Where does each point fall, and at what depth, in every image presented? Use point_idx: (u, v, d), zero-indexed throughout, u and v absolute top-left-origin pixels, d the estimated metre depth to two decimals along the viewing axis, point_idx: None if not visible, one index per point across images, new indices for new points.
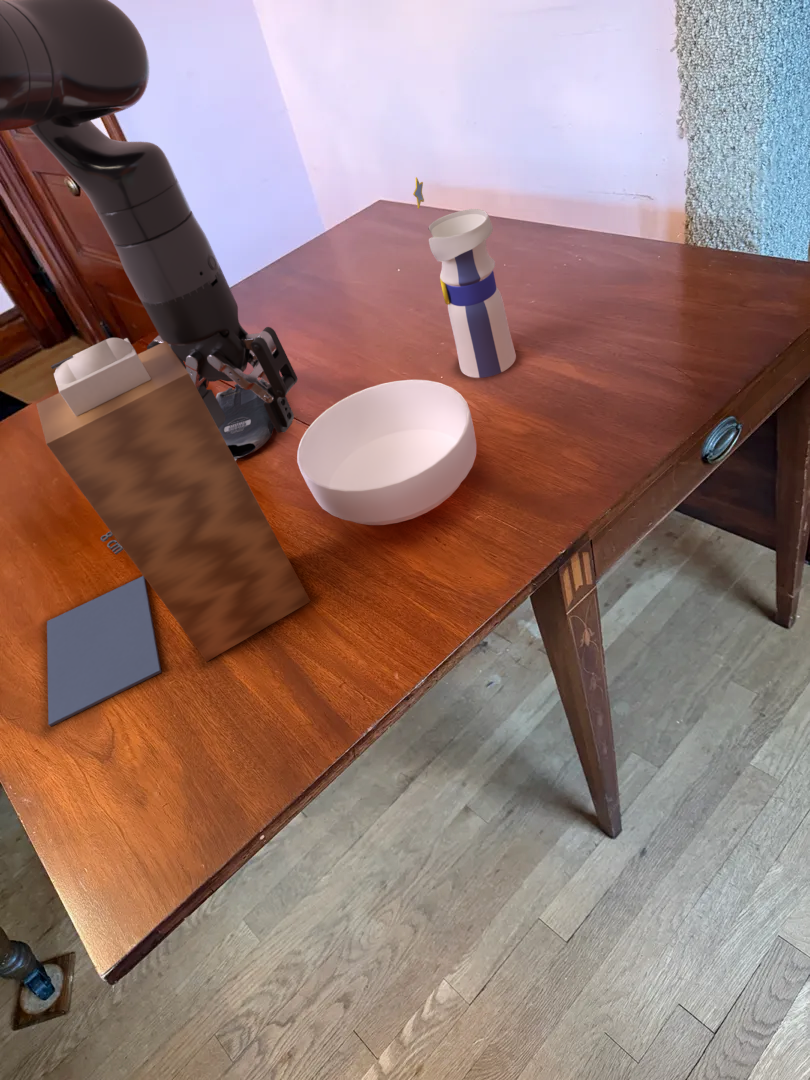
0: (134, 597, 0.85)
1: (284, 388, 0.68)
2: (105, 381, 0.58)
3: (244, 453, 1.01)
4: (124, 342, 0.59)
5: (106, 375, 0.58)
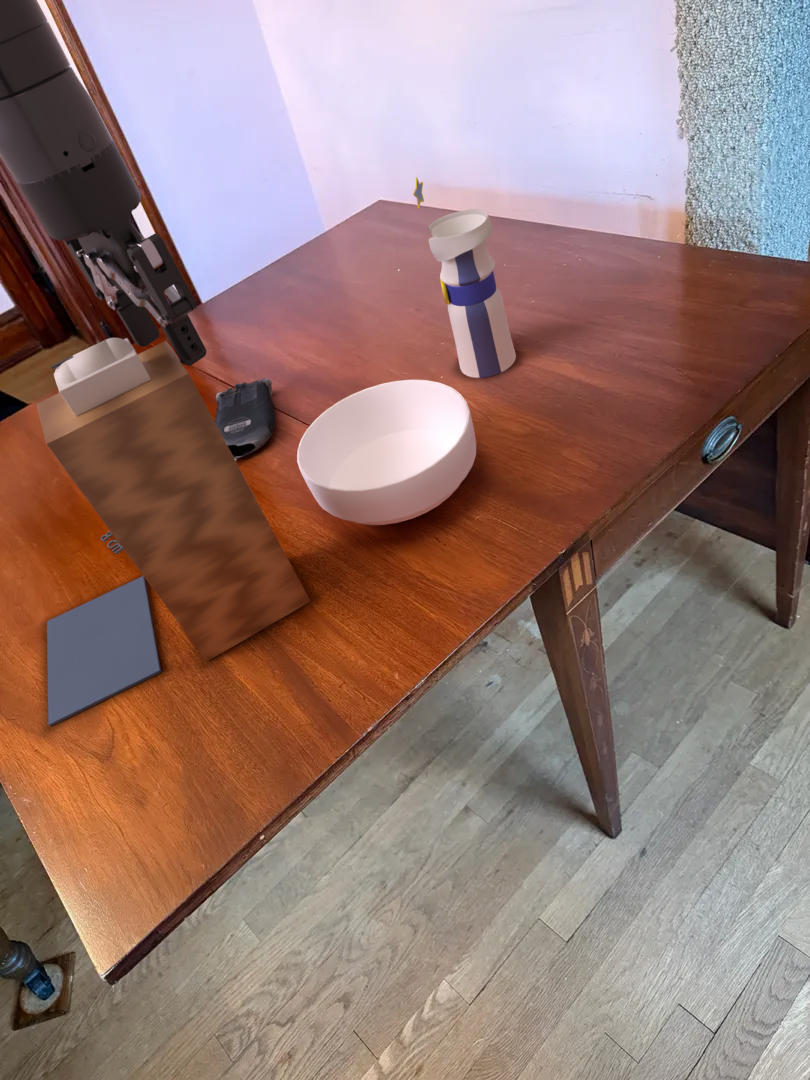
0: (134, 597, 0.85)
1: (170, 313, 0.56)
2: (105, 381, 0.58)
3: (244, 453, 1.01)
4: (124, 342, 0.59)
5: (106, 375, 0.58)
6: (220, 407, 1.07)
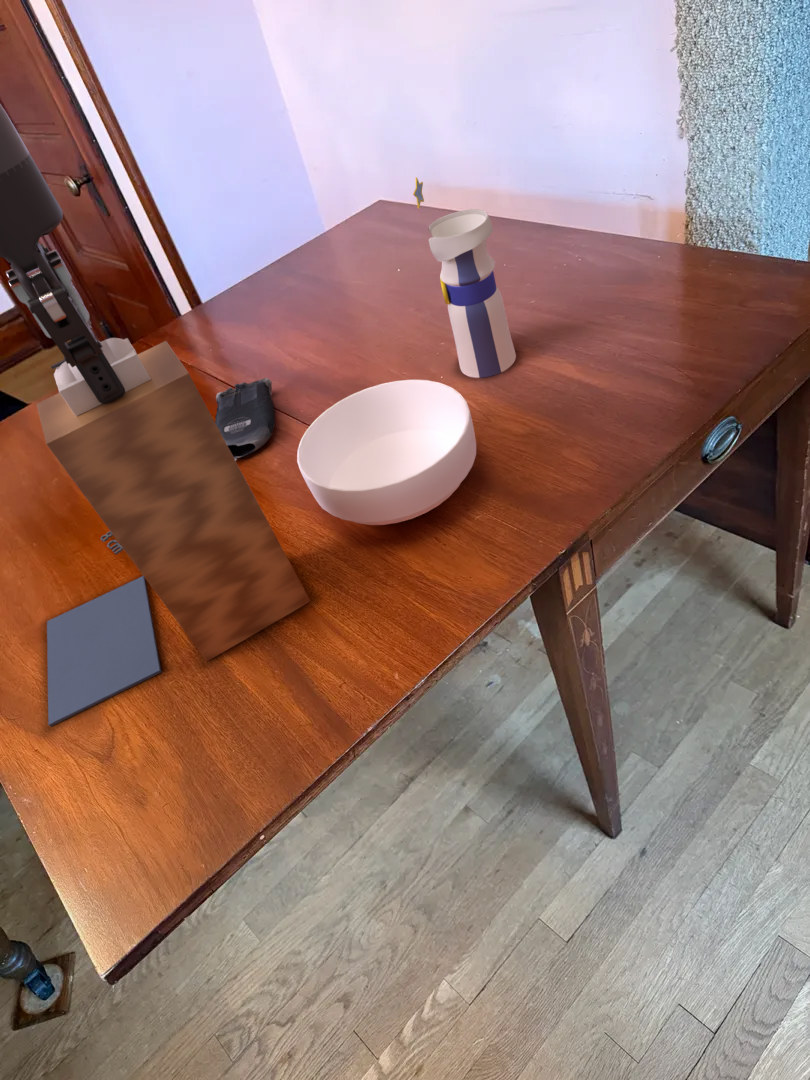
0: (134, 597, 0.85)
1: (70, 360, 0.53)
2: None
3: (244, 453, 1.01)
4: (124, 342, 0.59)
5: None
6: (220, 407, 1.07)
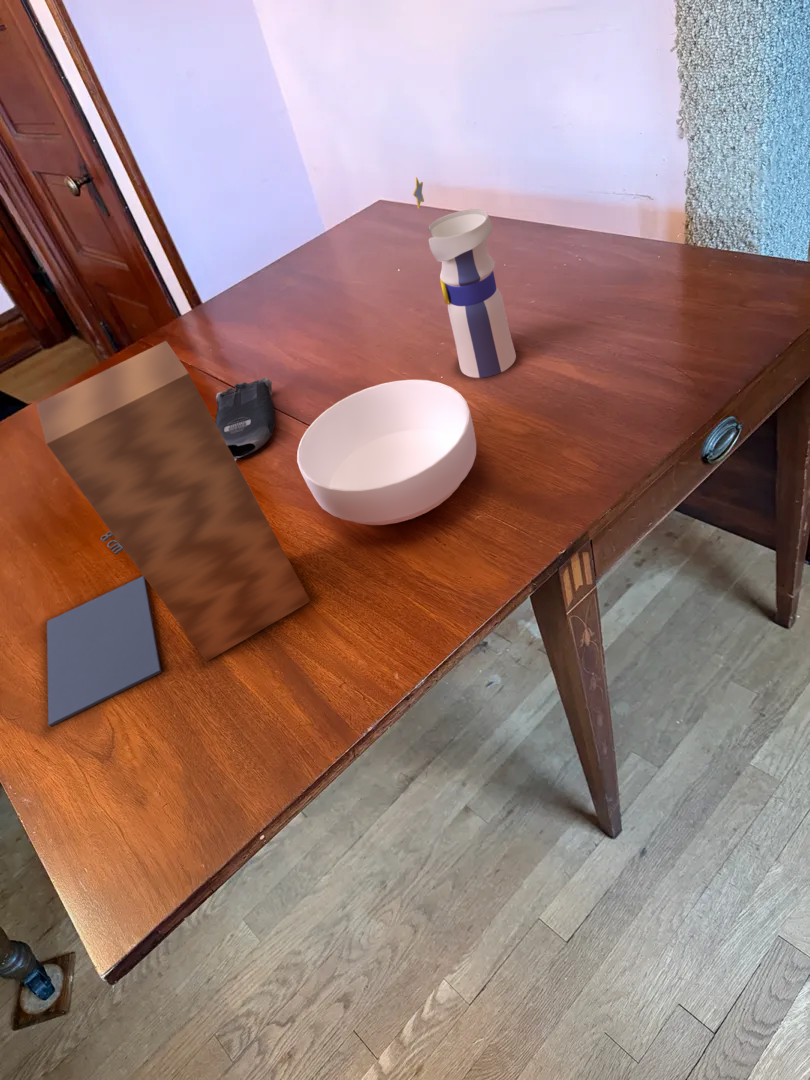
0: (134, 597, 0.85)
1: None
2: None
3: (244, 453, 1.01)
4: None
5: None
6: (220, 407, 1.07)
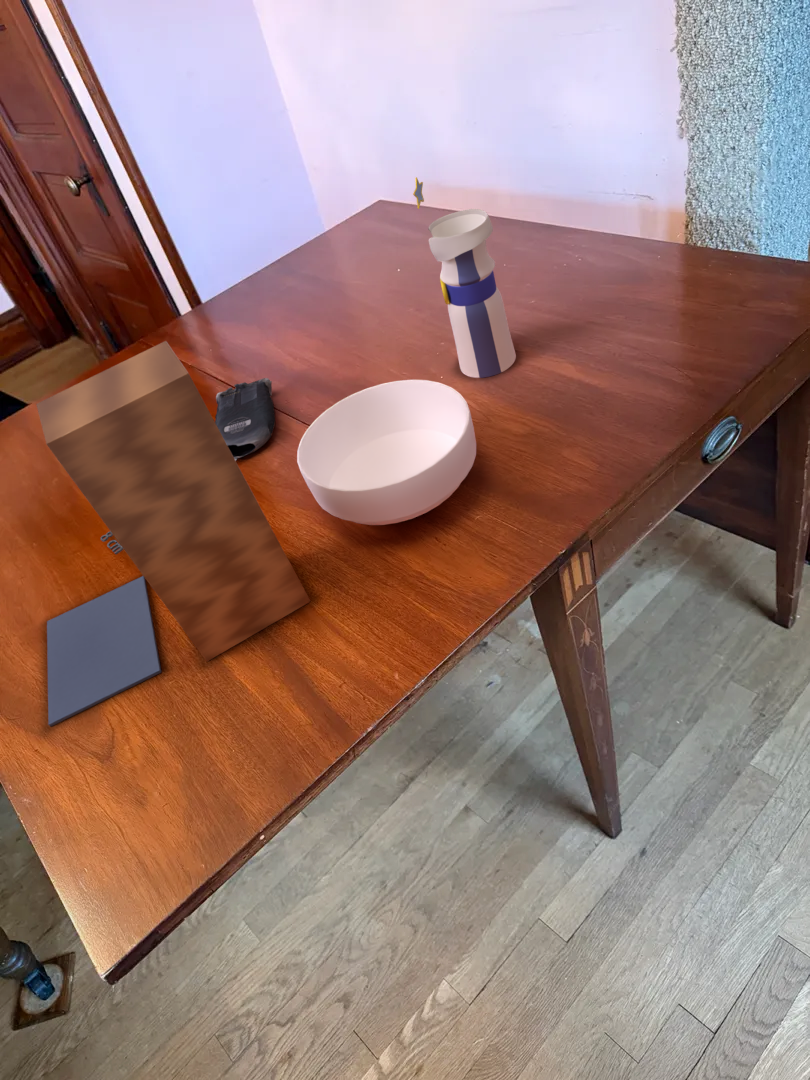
0: (134, 597, 0.85)
1: None
2: None
3: (244, 453, 1.01)
4: None
5: None
6: (220, 407, 1.07)
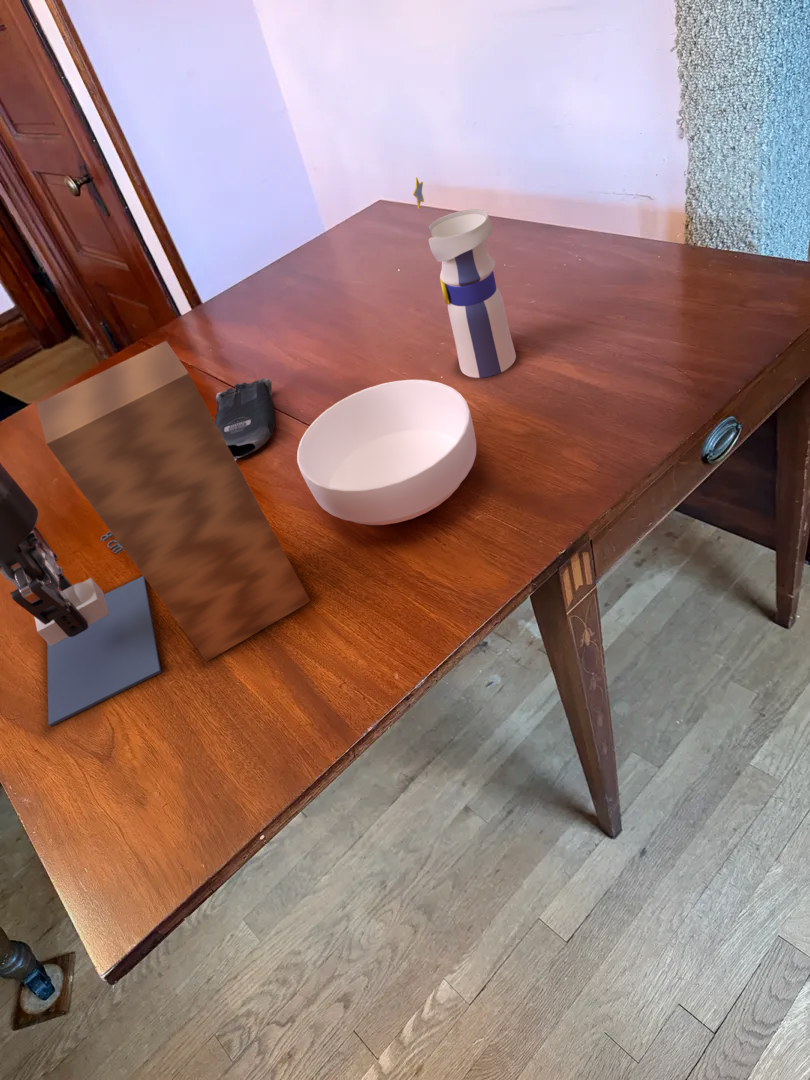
0: (134, 597, 0.85)
1: (44, 621, 0.71)
2: None
3: (244, 453, 1.01)
4: (87, 587, 0.76)
5: None
6: (220, 407, 1.07)
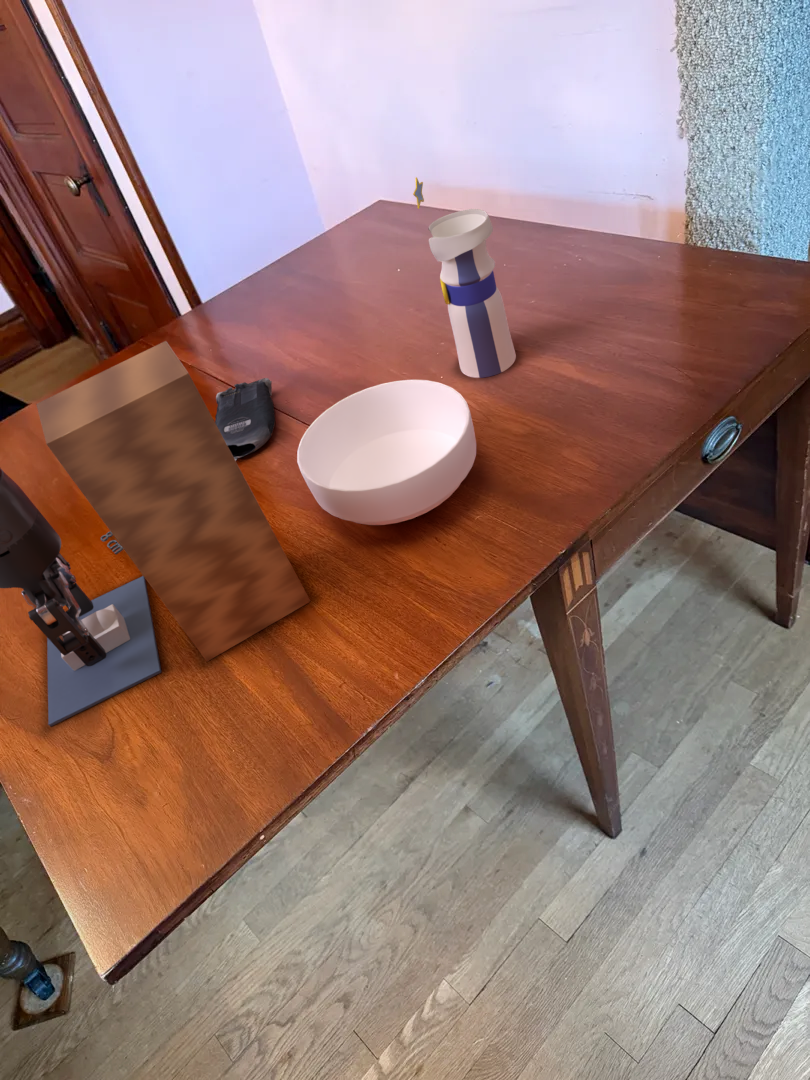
0: (134, 597, 0.85)
1: (62, 651, 0.71)
2: None
3: (244, 453, 1.01)
4: (109, 614, 0.79)
5: None
6: (220, 407, 1.07)
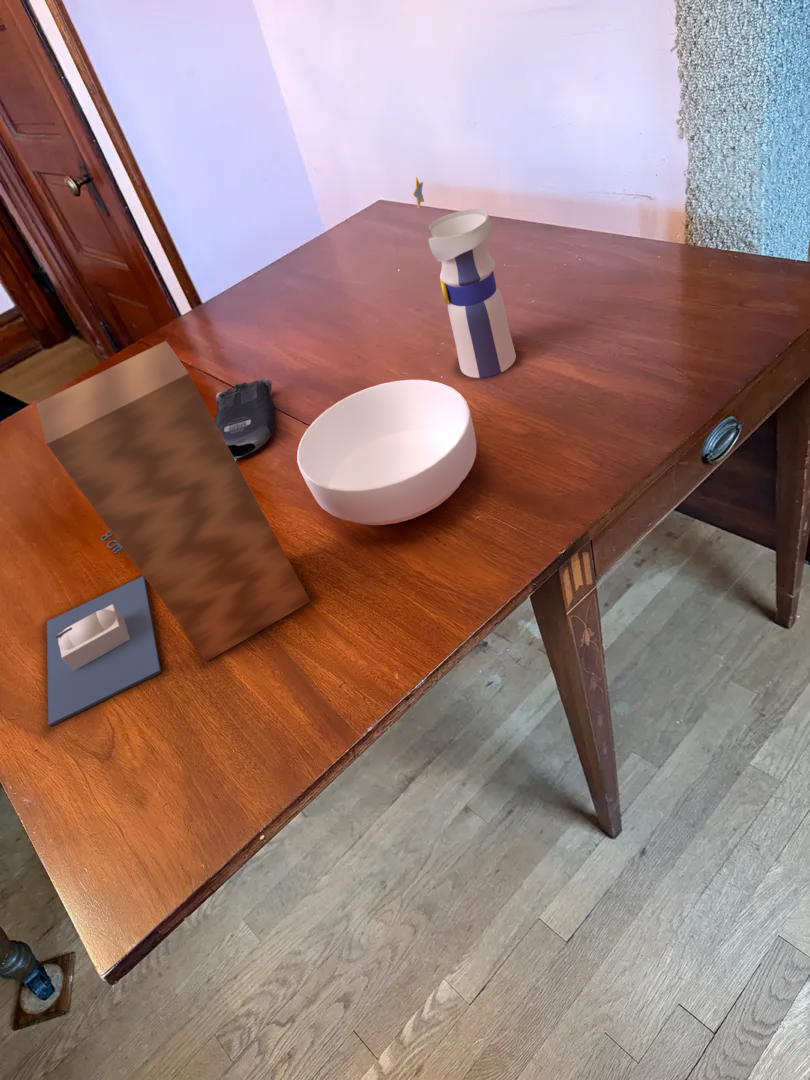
0: (134, 597, 0.85)
1: None
2: (96, 646, 0.79)
3: (244, 453, 1.01)
4: (109, 614, 0.79)
5: (96, 642, 0.78)
6: (220, 407, 1.07)
